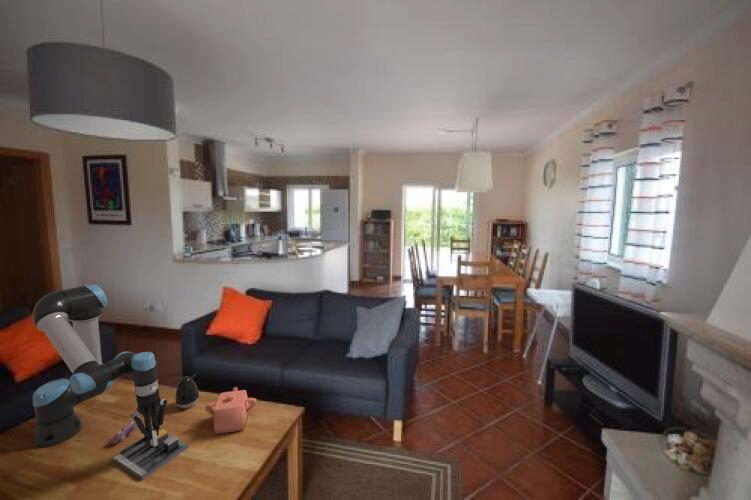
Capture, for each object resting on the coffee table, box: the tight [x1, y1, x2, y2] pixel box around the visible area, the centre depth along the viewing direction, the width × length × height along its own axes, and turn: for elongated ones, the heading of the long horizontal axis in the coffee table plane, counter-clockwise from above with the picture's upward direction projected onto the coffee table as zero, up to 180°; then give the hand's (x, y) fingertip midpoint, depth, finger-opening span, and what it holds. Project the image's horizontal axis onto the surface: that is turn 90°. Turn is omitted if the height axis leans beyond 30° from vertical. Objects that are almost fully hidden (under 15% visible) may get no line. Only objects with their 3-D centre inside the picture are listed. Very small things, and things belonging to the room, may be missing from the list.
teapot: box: [204, 386, 257, 435], centre depth 156 cm, size 20×22×14 cm
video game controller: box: [109, 421, 138, 445], centre depth 145 cm, size 10×5×7 cm, turn 169°
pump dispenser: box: [174, 373, 200, 409], centre depth 166 cm, size 10×10×15 cm
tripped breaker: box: [156, 428, 169, 448], centre depth 139 cm, size 3×4×5 cm
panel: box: [112, 427, 189, 481], centre depth 135 cm, size 20×18×6 cm
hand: (154, 444), depth 137 cm, fingers closed
